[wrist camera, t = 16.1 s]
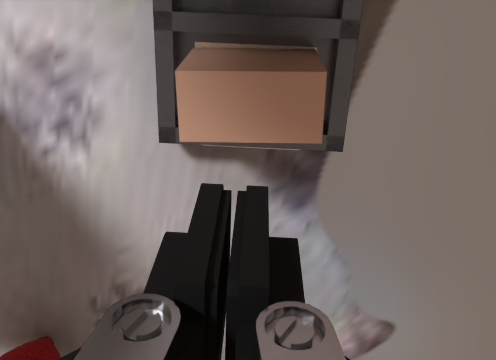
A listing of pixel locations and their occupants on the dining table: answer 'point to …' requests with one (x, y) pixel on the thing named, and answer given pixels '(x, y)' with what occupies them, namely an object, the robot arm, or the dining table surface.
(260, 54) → the cardboard box
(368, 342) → the dining table surface
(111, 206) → the dining table surface
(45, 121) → the dining table surface
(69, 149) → the dining table surface
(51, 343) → the strawberry
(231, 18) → the rack
